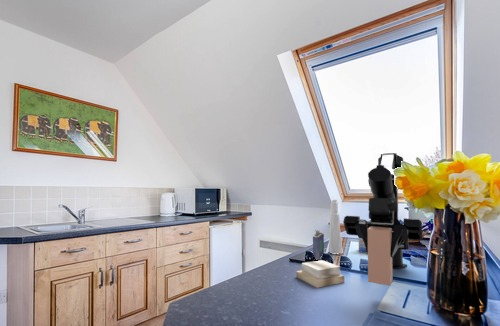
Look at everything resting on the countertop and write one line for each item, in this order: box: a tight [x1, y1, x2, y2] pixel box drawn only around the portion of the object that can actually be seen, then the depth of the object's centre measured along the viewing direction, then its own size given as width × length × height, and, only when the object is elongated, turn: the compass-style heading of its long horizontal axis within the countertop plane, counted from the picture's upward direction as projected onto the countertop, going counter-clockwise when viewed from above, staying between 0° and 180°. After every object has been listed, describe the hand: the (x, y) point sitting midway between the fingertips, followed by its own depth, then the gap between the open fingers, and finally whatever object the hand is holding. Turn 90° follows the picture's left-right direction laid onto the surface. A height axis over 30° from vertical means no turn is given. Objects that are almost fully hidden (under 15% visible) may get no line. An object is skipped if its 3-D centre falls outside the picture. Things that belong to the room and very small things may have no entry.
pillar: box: [367, 226, 394, 287], centre depth 72 cm, size 5×5×13 cm
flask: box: [312, 229, 325, 261], centre depth 112 cm, size 9×3×11 cm, turn 151°
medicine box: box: [357, 236, 367, 253], centre depth 122 cm, size 8×4×9 cm, turn 62°
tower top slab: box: [301, 259, 341, 279], centre depth 87 cm, size 8×8×2 cm
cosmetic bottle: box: [327, 199, 344, 254], centre depth 120 cm, size 6×6×22 cm
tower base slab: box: [295, 269, 345, 288], centre depth 87 cm, size 10×10×2 cm
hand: (379, 254), depth 71 cm, fingers closed on pillar, 5 cm apart
